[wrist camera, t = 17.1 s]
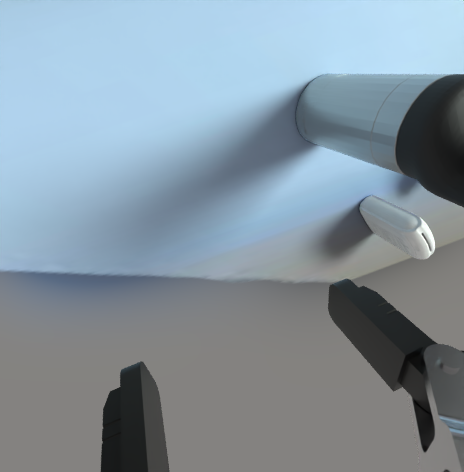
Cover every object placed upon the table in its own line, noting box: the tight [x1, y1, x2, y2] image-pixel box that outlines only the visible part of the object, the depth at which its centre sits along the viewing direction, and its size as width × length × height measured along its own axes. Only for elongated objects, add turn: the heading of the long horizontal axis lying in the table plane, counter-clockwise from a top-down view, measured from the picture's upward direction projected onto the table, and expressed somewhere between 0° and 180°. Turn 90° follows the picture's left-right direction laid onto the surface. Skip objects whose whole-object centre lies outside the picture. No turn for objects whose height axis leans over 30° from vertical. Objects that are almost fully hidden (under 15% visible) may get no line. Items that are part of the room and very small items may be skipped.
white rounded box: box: [359, 195, 435, 259], centre depth 50 cm, size 10×4×12 cm, turn 42°
